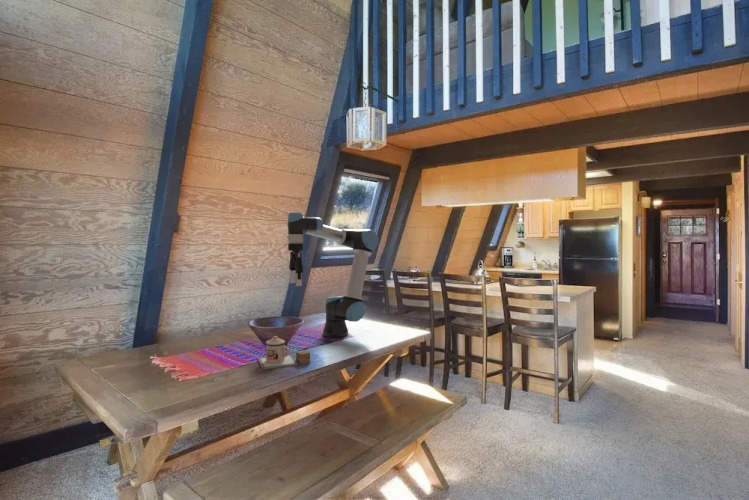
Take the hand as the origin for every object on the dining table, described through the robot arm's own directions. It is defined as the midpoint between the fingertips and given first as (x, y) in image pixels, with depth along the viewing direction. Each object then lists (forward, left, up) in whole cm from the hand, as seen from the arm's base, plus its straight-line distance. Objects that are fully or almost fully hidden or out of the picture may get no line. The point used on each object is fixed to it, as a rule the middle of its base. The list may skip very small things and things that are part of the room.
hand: (295, 284), depth 212 cm
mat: (+14, -12, -35) cm, 39 cm away
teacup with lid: (+15, -12, -34) cm, 39 cm away
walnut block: (+19, -1, -35) cm, 40 cm away
